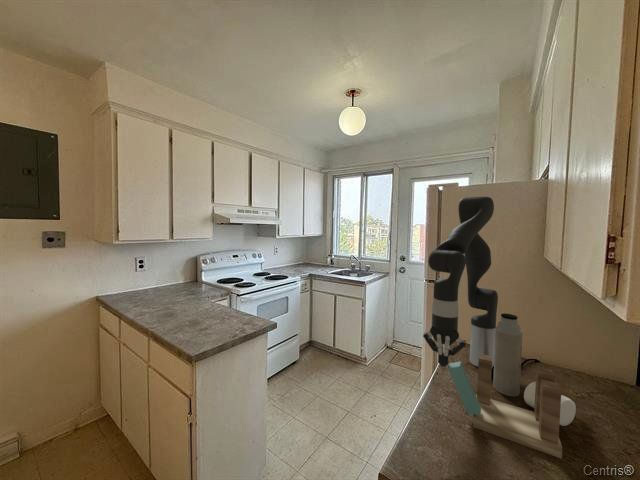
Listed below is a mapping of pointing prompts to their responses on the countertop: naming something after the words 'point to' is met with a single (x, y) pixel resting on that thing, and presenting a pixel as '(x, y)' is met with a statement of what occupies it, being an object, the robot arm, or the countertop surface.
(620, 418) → the countertop surface
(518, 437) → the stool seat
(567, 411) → the mug
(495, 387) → the thermos bottle
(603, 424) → the countertop surface
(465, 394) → the folding leg
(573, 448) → the countertop surface
